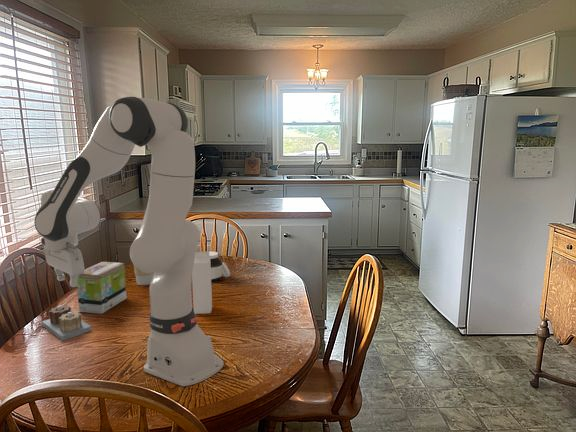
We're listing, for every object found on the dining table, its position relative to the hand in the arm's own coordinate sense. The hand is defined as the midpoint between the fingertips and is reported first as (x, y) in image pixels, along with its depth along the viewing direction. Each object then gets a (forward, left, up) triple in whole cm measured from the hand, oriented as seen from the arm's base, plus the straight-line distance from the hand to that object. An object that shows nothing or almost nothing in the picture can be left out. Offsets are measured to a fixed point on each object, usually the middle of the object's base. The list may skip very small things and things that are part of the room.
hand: (67, 283), depth 132 cm
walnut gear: (+8, 0, -15) cm, 17 cm away
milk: (-19, -38, -17) cm, 45 cm away
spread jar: (+4, -63, -17) cm, 65 cm away
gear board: (+4, 0, -17) cm, 17 cm away
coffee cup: (+23, -40, -17) cm, 49 cm away
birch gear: (0, 0, -15) cm, 15 cm away
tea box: (+13, -17, -17) cm, 27 cm away
